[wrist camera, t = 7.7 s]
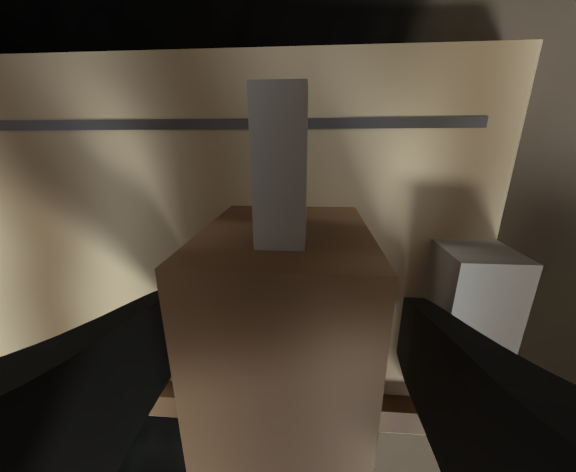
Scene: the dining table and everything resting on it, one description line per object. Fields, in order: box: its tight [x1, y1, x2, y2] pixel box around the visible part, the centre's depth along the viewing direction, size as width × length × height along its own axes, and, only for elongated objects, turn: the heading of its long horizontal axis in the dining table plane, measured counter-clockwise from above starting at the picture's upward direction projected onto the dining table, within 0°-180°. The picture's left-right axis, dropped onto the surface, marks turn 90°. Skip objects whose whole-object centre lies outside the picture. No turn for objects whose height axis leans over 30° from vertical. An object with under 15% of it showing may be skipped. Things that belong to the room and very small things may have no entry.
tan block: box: [154, 79, 398, 472], centre depth 8 cm, size 4×10×5 cm, turn 0°
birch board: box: [0, 39, 544, 435], centre depth 10 cm, size 20×14×4 cm
